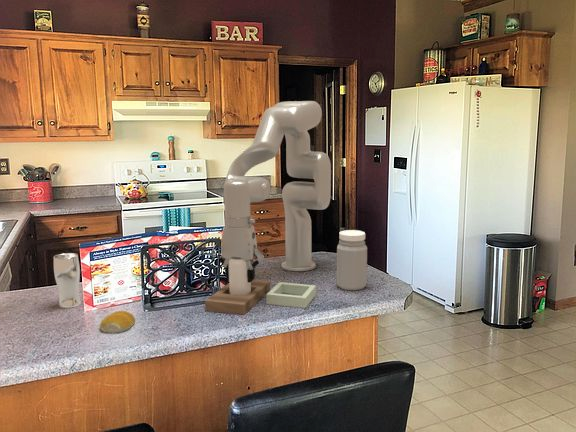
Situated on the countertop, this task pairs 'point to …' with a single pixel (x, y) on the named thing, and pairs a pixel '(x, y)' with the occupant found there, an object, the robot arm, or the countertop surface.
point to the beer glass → (67, 279)
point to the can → (238, 277)
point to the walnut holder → (237, 299)
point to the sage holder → (291, 300)
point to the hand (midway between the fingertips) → (240, 279)
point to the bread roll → (117, 322)
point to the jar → (351, 260)
